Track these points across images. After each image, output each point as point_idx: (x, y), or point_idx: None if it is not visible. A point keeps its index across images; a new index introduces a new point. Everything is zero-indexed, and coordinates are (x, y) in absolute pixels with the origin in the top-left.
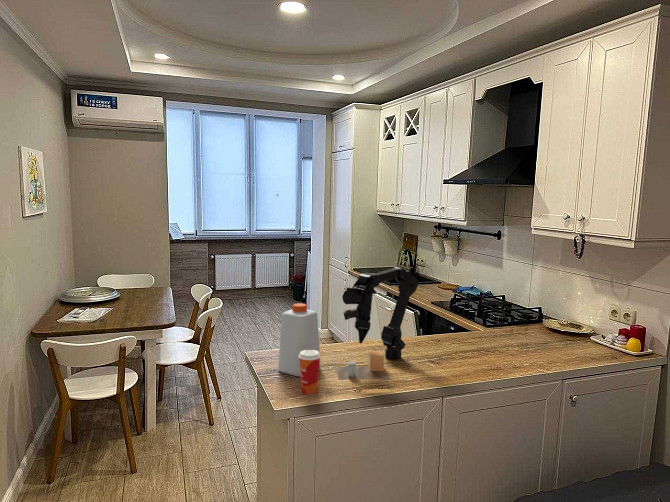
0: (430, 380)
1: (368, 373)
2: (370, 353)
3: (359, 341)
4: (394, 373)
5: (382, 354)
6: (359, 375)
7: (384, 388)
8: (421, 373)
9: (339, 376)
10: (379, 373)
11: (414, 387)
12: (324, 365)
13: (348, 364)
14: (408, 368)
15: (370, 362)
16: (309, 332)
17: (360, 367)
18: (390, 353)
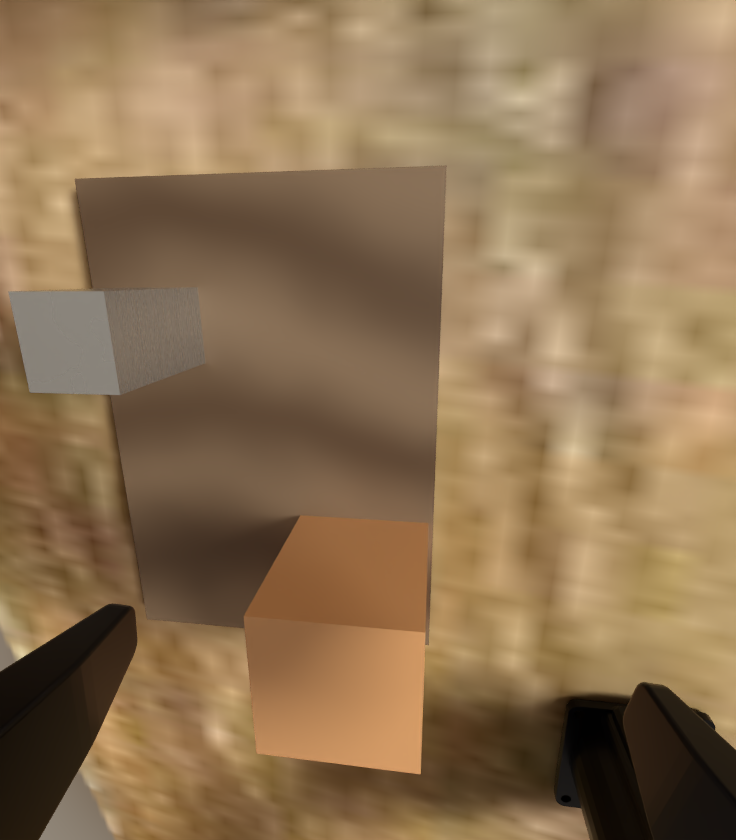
0: (206, 835)
1: (246, 491)
2: (333, 635)
3: (77, 629)
4: None
5: (295, 750)
6: (192, 404)
7: (40, 548)
8: (322, 832)
9: (149, 194)
10: (250, 579)
11: None
12: (596, 7)
13: (10, 291)
14: (422, 793)
15: (273, 565)
16: None
17: (399, 444)
18: (613, 803)
